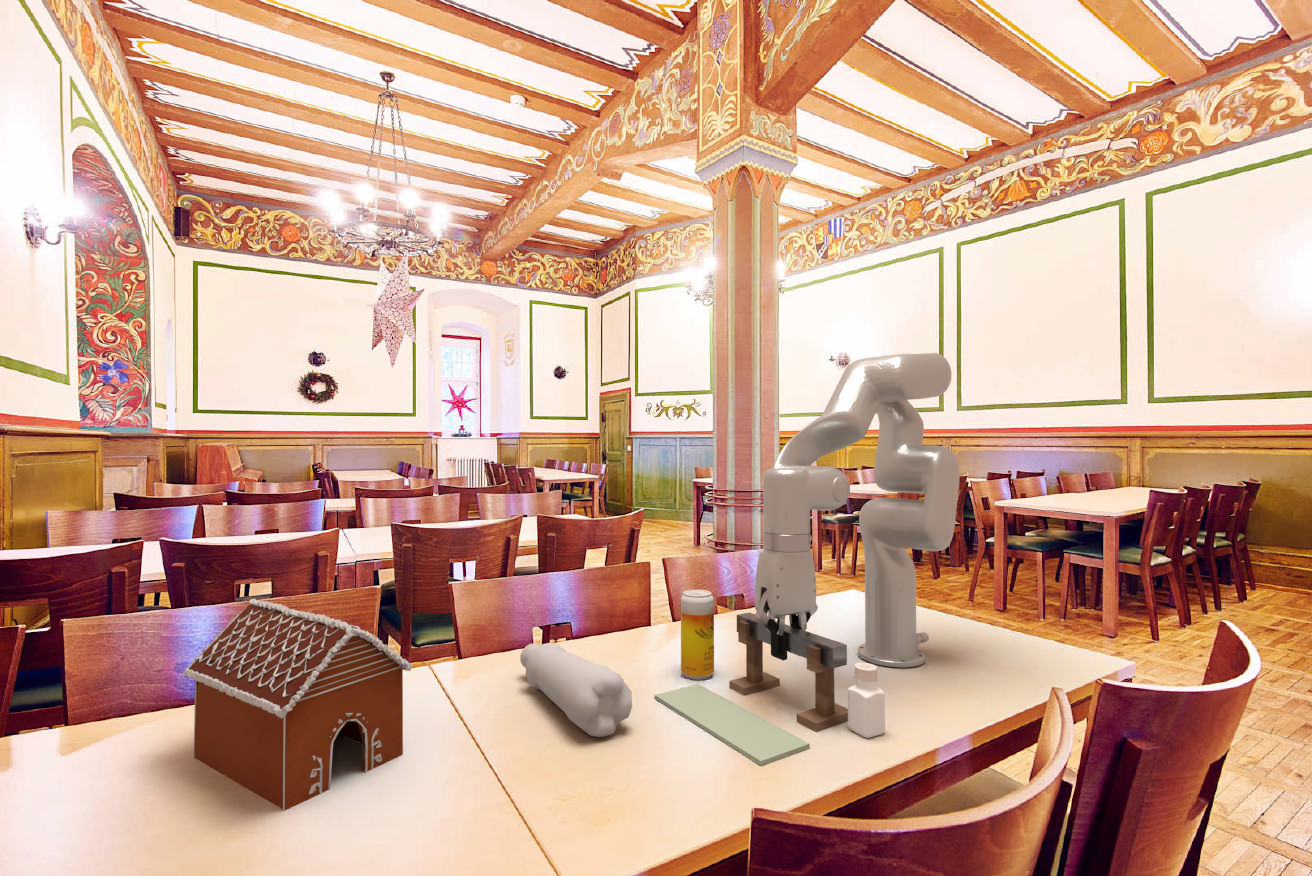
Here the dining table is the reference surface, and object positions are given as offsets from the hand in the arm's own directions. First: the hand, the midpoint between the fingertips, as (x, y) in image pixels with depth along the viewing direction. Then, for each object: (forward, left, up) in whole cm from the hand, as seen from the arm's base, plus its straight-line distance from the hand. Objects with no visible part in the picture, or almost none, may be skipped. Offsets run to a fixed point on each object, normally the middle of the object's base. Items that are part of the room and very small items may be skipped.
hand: (787, 654), depth 101 cm
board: (+13, 0, -8) cm, 15 cm away
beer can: (+5, -18, -8) cm, 20 cm away
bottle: (+30, -19, -8) cm, 37 cm away
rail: (0, 0, +1) cm, 1 cm away
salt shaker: (-2, +14, -8) cm, 16 cm away
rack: (0, 0, -8) cm, 8 cm away
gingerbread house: (+68, -22, -8) cm, 72 cm away
